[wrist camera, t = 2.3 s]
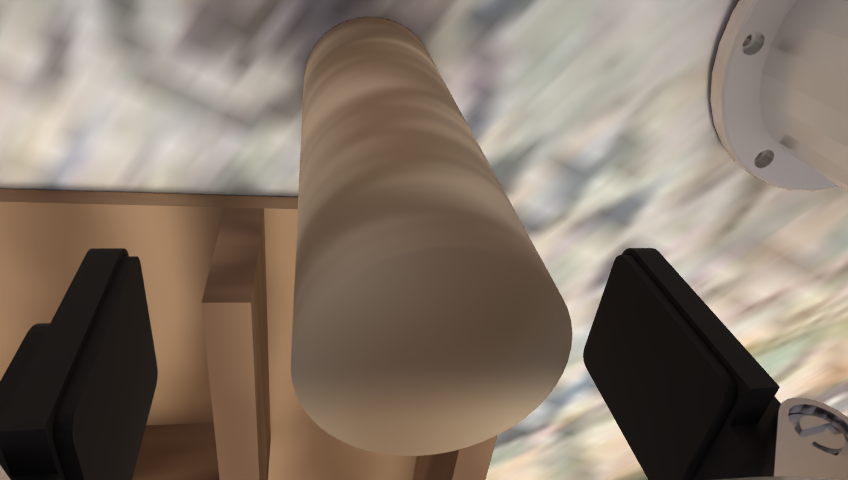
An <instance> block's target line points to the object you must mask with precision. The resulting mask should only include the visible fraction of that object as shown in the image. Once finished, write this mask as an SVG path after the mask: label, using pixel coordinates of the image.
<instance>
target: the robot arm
mask: <svg viewBox="0 0 848 480" xmlns="http://www.w3.org/2000/svg"><path fill="white" fill-rule="evenodd" d="M710 101H711V108H712V115H713V122H714V126H715V128H716V131H717V133H718V136H719V138H720V141H721V143H722V145H723V146H724V148H725V149H726V150H727V152H728V153H729V154H730V156H731V157H732V158H733V160H734V161H735V162H737V163H738V164H739V165H740V166H742V167H743V168H744V169H745V170H747V171H748V172H749V173H750V174H752V175H753V176H755V177H757V178H759V179H760V180H762V181H764V182H766V183H768V184H769V185H773V186H776V187H780V188H784V189H788V190H802V191H815V190H822V189H829V188H836V187H841V188H843V189H844V190H846V191H847V192H848V0H739V2H738V4H737V5H736V7H735V9H734V10H733V12H732V14H731V17H730V19H729V21H728V24H727V26H726V29H725V31H724V33H723V36H722V38H721V41H720V43H719V47H718V51H717V55H716V59H715V63H714V67H713V71H712V83H711V99H710ZM583 358H584V363H585V366H586V368H587V370H588V372H589V374H590V375H591V377H592V379H593V381H594V383H595V384H596V386H597V388H598V390H599V392H600V393H601V395H602V397H603V399H604V401H605V402H606V404H607V406H608V408H609V410H610V411H611V413H612V415H613V417H614V419H615V420H616V422H617V424H618V426H619V428H620V429H621V431H622V433H623V435H624V437H625V438H626V440H627V442H628V444H629V446H630V447H631V449H632V451H633V453H634V455H635V456H636V458H637V460H638V462H639V464H640V465H641V467H642V469H643V471H644V473H645V474H646V476H647V478H648V480H848V417H846V416H845V415H844V414H842V413H841V412H839V411H838V410H836V409H834V408H832V407H830V406H828V405H826V404H824V403H821V402H818V401H815V400H811V399H806V398H791V399H787V400H786V401H784V402H783V403H780V402H779V401H778V400H777V399H776V398H775V394H776V392H777V391H778V389H779V386H778V385H777V383H776V382H775V381H774V380H773V379H772V378H771V377H770V376H769V374H768V373H767V372H766V371H765V370H764V369H763V368H762V367H761V366H760V364H759V363H758V362H757V361H756V360H755V359H754V358H753V357H752V355H751V354H750V353H749V352H748V351H747V350H746V349H745V348H744V347H743V345H742V344H741V343H740V342H739V341H738V340H737V339H736V338H735V336H734V335H733V334H732V333H731V332H730V331H729V330H728V329H727V328H726V326H725V325H724V324H723V323H722V322H721V321H720V320H719V319H718V317H717V316H716V315H715V314H714V313H713V312H712V311H711V310H710V308H709V307H708V306H707V305H706V304H705V303H704V302H703V301H702V300H701V298H700V297H699V296H698V295H697V294H696V293H695V292H694V291H693V289H692V288H691V287H690V286H689V285H688V284H687V283H686V282H685V281H684V279H683V278H682V277H681V276H680V275H679V274H678V273H677V272H676V270H675V269H674V268H673V267H672V266H671V265H670V264H669V263H668V261H667V260H666V259H665V258H664V257H663V256H662V255H661V254H660V253H659V251H657V250H656V249H653V248H629V249H626V250H625V251H624V252H623V253H622V255H619V256H617V257H616V259H615V261H614V263H613V266H612V269H611V272H610V275H609V278H608V281H607V284H606V287H605V290H604V293H603V295H602V298H601V301H600V304H599V307H598V310H597V313H596V316H595V319H594V322H593V325H592V327H591V330H590V333H589V336H588V339H587V342H586V345H585V348H584V353H583ZM157 377H158V368H157V360H156V354H155V348H154V342H153V336H152V330H151V324H150V317H149V311H148V305H147V299H146V293H145V287H144V281H143V274H142V268H141V263H140V259H139V257H137V256H129V254H128V252H127V250H126V249H125V248H91V249H89V250H88V252H87V253H86V255H85V257H84V259H83V261H82V263H81V265H80V267H79V269H78V271H77V273H76V274H75V276H74V278H73V280H72V282H71V284H70V286H69V288H68V290H67V292H66V294H65V296H64V298H63V300H62V302H61V304H60V305H59V307H58V309H57V311H56V313H55V315H54V317H53V319H52V321H51V323H37V324H35V325H33V326H32V327H31V328H30V330H29V331H28V332H27V334H26V336H25V337H24V339H23V341H22V343H21V345H20V346H19V348H18V350H17V352H16V354H15V356H14V357H13V359H12V361H11V363H10V365H9V366H8V368H7V370H6V372H5V374H4V375H3V377H2V379H1V381H0V480H132V478H133V474H134V470H135V466H136V462H137V459H138V455H139V451H140V447H141V443H142V439H143V435H144V432H145V428H146V424H147V420H148V416H149V412H150V409H151V405H152V401H153V397H154V393H155V389H156V385H157Z"/></svg>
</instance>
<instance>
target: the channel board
mask: <svg viewBox="0 0 848 480" xmlns="http://www.w3.org/2000/svg"><path fill="white" fill-rule="evenodd" d="M297 217H298V197H270V196H235V195H201V194H166V193H132V192H97V191H62V190H28V189H0V381H1V379H2V377H3V375H4V374H5V372H6V370H7V368H8V366H9V365H10V363H11V361H12V359H13V357H14V356H15V354H16V352H17V350H18V348H19V346H20V345H21V343H22V341H23V339H24V337H25V336H26V334H27V332H28V331H29V330H30V328H31V327H32V326H33V325H35V324H37V323H51V321H52V319H53V317H54V315H55V313H56V311H57V309H58V307H59V305H60V304H61V302H62V300H63V298H64V296H65V294H66V292H67V290H68V288H69V286H70V284H71V282H72V280H73V278H74V276H75V274H76V273H77V271H78V269H79V267H80V265H81V263H82V261H83V259H84V257H85V255H86V253H87V252H88V250H89V249H91V248H125V249H126V250H127V252H128V254H129V256H137V257H139V259H140V263H141V268H142V274H143V281H144V287H145V293H146V299H147V305H148V311H149V317H150V324H151V330H152V336H153V342H154V348H155V354H156V360H157V368H158V377H157V385H156V389H155V393H154V397H153V401H152V405H151V409H150V412H149V416H148V420H147V424H146V428H145V432H144V435H143V439H142V443H141V447H140V451H139V455H138V459H137V462H136V466H135V470H134V474H133V478H132V480H485V479H486V475H487V472H488V468H489V464H490V461H491V457H492V453H493V450H494V446H495V442H496V439H497V435H496V436H494V437H492V438H490V439H488V440H485V441H483V442H481V443H478V444H475V445H472V446H469V447H466V448H462V449H459V450H455V451H451V452H445V453H440V454H433V455H422V456H398V455H387V454H381V453H375V452H370V451H367V450H363V449H360V448H357V447H354V446H352V445H349V444H347V443H344V442H342V441H340V440H339V439H337V438H335V437H333V436H331V435H330V434H328V433H327V432H326V431H324V430H323V429H322V428H320V427H319V426H318V425H317V424H316V423H315V422H314V421H313V420H312V419H311V418H310V417H309V416H308V414H307V413H306V412H305V410H304V409H303V407H302V406H301V404H300V402H299V400H298V398H297V396H296V394H295V390H294V387H293V384H292V378H291V346H292V324H293V303H294V281H295V260H296V239H297Z"/></svg>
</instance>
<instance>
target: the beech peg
mask: <svg viewBox="0 0 848 480" xmlns="http://www.w3.org/2000/svg"><path fill="white" fill-rule="evenodd" d="M571 344H572V326H571V319H570V316H569V312H568V309H567V306H566V304H565V302H564V300H563V298H562V296H561V294H560V293H559V291H558V289H557V287H556V285H555V283H554V282H553V280H552V278H551V276H550V274H549V272H548V271H547V269H546V267H545V265H544V263H543V261H542V260H541V258H540V256H539V254H538V252H537V251H536V249H535V247H534V245H533V243H532V241H531V240H530V238H529V236H528V234H527V232H526V230H525V229H524V227H523V225H522V223H521V221H520V220H519V218H518V216H517V214H516V212H515V210H514V209H513V207H512V205H511V203H510V201H509V199H508V198H507V196H506V194H505V192H504V190H503V188H502V187H501V185H500V183H499V181H498V179H497V178H496V176H495V174H494V172H493V170H492V168H491V167H490V165H489V163H488V161H487V159H486V157H485V156H484V154H483V152H482V150H481V148H480V147H479V145H478V143H477V141H476V139H475V137H474V136H473V134H472V132H471V130H470V128H469V126H468V125H467V123H466V121H465V119H464V117H463V116H462V114H461V112H460V110H459V108H458V106H457V105H456V103H455V101H454V99H453V97H452V95H451V94H450V92H449V90H448V88H447V86H446V84H445V83H444V81H443V79H442V77H441V75H440V74H439V72H438V70H437V68H436V66H435V64H434V63H433V61H432V59H431V57H430V55H429V53H428V52H427V50H426V48H425V47H424V45H423V44H422V42H421V41H420V40H419V39H418V38H417V37H416V36H415V35H414V34H413V33H412V32H411V31H410V30H408V29H407V28H405V27H404V26H402V25H400V24H398V23H396V22H394V21H391V20H388V19H384V18H378V17H361V18H355V19H351V20H348V21H345V22H343V23H340V24H339V25H337V26H335V27H333V28H332V29H330V30H329V31H328V32H327V33H325V34H324V35H323V36H322V37H321V38H320V40H319V41H318V42H317V43H316V45H315V46H314V48H313V49H312V51H311V53H310V55H309V58H308V60H307V63H306V67H305V72H304V88H303V110H302V131H301V153H300V174H299V196H298V217H297V239H296V260H295V281H294V303H293V324H292V346H291V378H292V384H293V387H294V390H295V394H296V396H297V398H298V400H299V402H300V404H301V406H302V407H303V409H304V410H305V412H306V413H307V414H308V416H309V417H310V418H311V419H312V420H313V421H314V422H315V423H316V424H317V425H318V426H319V427H320V428H322V429H323V430H324V431H326V432H327V433H328V434H330V435H331V436H333V437H335V438H337V439H339V440H340V441H342V442H344V443H347V444H349V445H352V446H354V447H357V448H360V449H363V450H367V451H370V452H375V453H381V454H387V455H398V456H422V455H433V454H440V453H445V452H451V451H455V450H459V449H462V448H466V447H469V446H472V445H475V444H478V443H481V442H483V441H485V440H488V439H490V438H492V437H494V436H496V435H498V434H500V433H502V432H504V431H506V430H507V429H509V428H511V427H512V426H514V425H515V424H517V423H518V422H520V421H521V420H523V419H524V418H525V417H526V416H528V415H529V414H530V413H531V412H532V411H534V410H535V409H536V408H537V407H538V406H539V405H540V404H541V403H542V402H543V401H544V400H545V399H546V398H547V396H548V395H549V394H550V392H551V391H552V390H553V388H554V387H555V386H556V384H557V382H558V381H559V379H560V377H561V376H562V374H563V371H564V369H565V367H566V364H567V362H568V358H569V354H570V350H571Z"/></svg>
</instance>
